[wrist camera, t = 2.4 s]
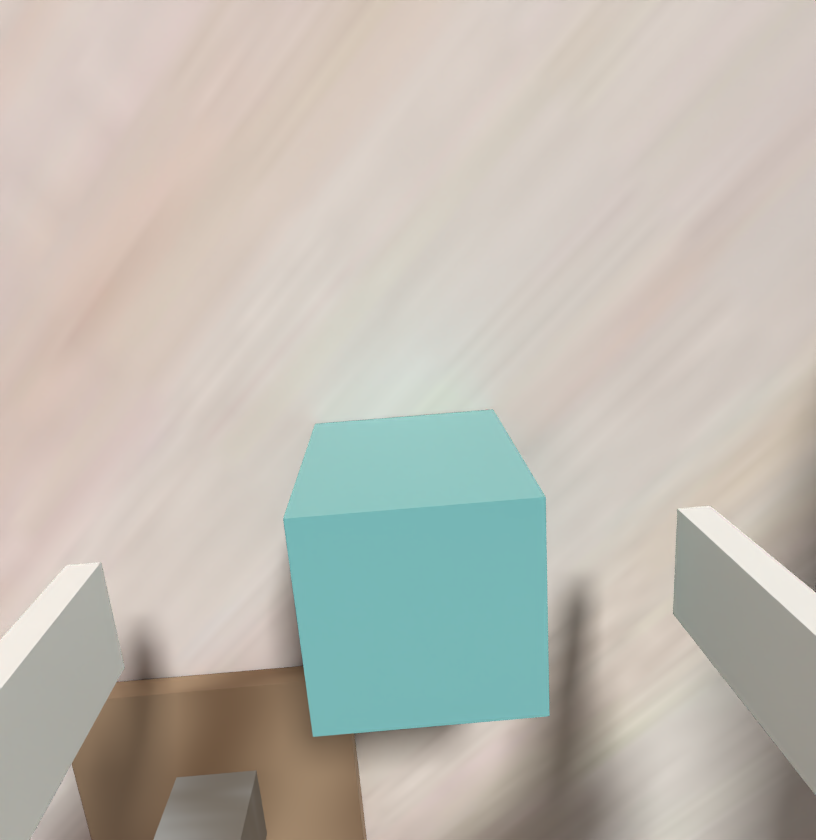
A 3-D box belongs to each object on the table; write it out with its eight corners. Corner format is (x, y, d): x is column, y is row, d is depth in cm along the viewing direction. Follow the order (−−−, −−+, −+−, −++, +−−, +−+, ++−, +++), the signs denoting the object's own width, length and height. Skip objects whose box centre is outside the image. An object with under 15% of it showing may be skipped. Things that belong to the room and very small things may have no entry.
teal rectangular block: (493, 409, 20) (545, 497, 13) (499, 568, 21) (549, 716, 15) (315, 424, 20) (283, 518, 13) (333, 582, 21) (313, 737, 15)
